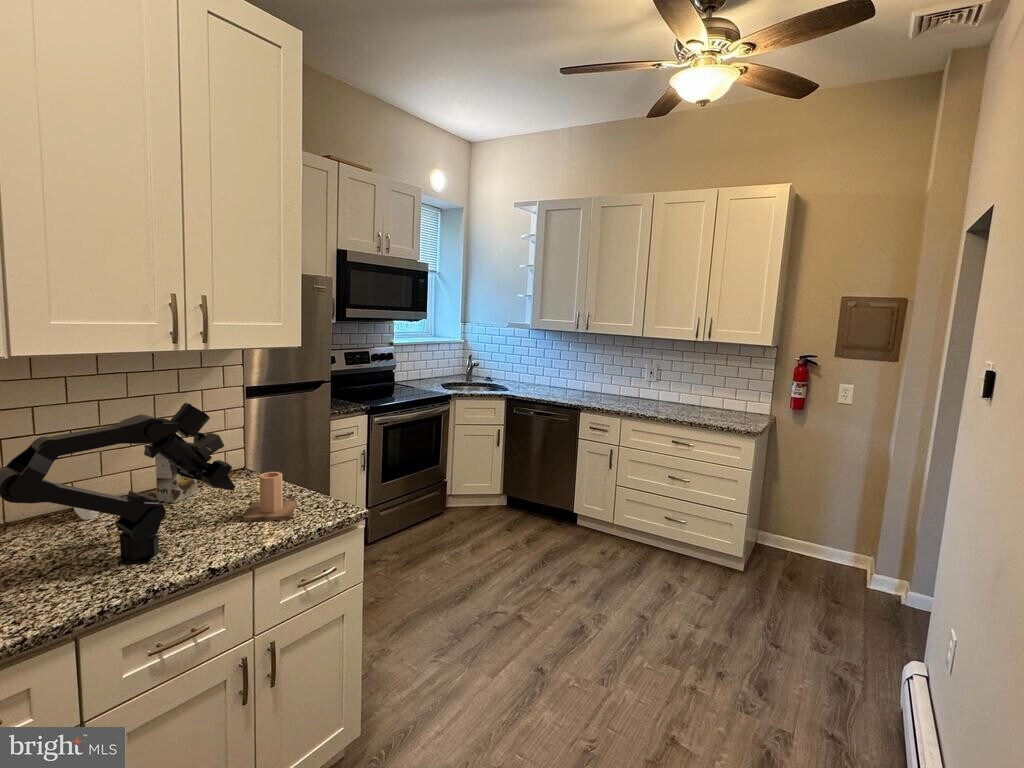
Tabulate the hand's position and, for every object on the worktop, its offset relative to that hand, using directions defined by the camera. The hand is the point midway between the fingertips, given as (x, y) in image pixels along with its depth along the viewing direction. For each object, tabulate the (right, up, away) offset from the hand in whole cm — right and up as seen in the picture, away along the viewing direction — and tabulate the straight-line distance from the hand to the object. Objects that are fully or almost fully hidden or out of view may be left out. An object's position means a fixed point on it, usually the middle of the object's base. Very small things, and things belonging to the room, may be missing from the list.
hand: (223, 484), depth 144 cm
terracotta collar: (+7, -9, +14) cm, 18 cm away
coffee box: (-25, -8, +22) cm, 34 cm away
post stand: (+7, -10, +14) cm, 18 cm away
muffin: (-39, -10, +5) cm, 40 cm away
